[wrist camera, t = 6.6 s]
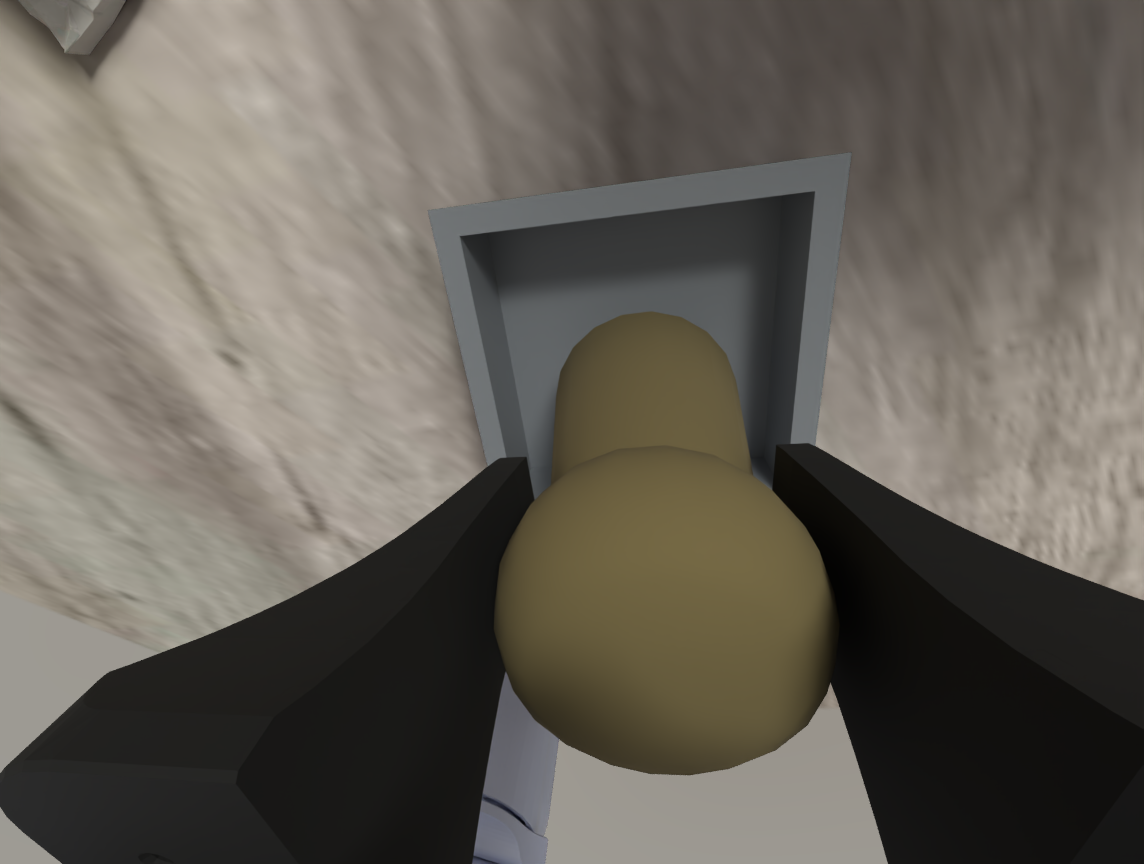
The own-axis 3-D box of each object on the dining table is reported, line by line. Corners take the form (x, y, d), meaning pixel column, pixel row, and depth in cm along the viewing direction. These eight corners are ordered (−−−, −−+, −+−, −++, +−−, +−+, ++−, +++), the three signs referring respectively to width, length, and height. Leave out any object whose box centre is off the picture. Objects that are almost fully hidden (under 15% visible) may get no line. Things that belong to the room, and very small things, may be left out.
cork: (534, 446, 17) (399, 761, 7) (590, 283, 15) (498, 427, 5) (689, 501, 17) (764, 882, 7) (771, 350, 15) (1052, 625, 5)
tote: (779, 465, 20) (806, 516, 17) (519, 476, 22) (501, 525, 19) (805, 159, 15) (851, 151, 12) (465, 205, 17) (427, 210, 14)
